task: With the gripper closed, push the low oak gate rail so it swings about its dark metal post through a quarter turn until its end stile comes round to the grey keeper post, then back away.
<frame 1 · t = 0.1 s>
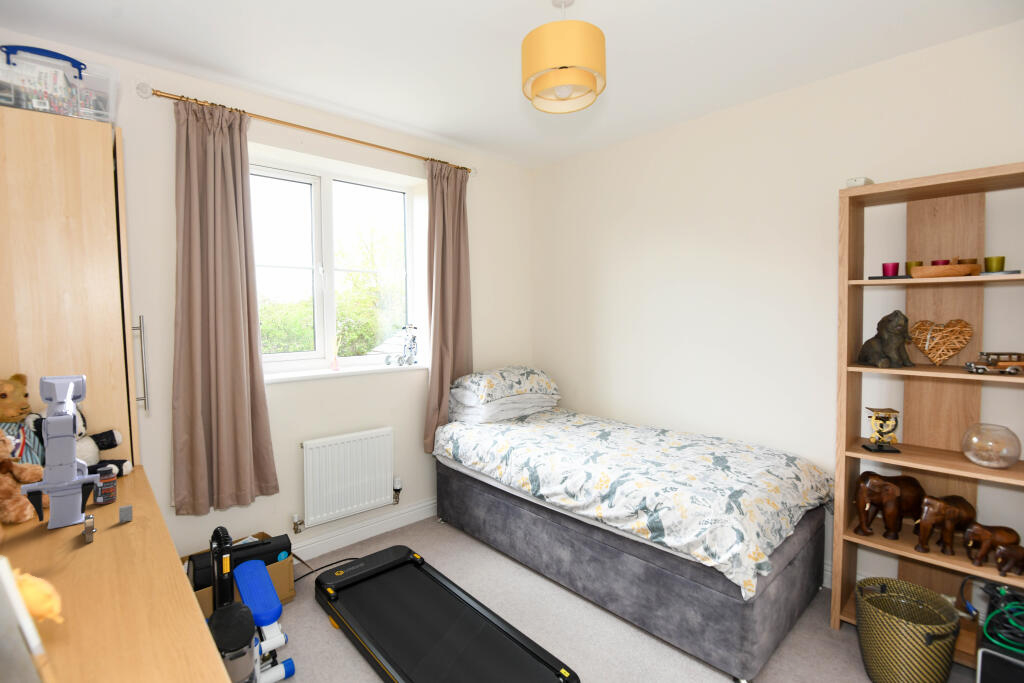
hand: (62, 516, 123), 10 cm above the table, tool pointing down, fingers open, 7 cm apart
supplement bottle: (105, 503, 160), on the table
keeper post: (125, 521, 145), on the table
pivot post: (89, 531, 137), on the table
gate: (89, 529, 133), point 2 cm above the table, hinge at 0.0°
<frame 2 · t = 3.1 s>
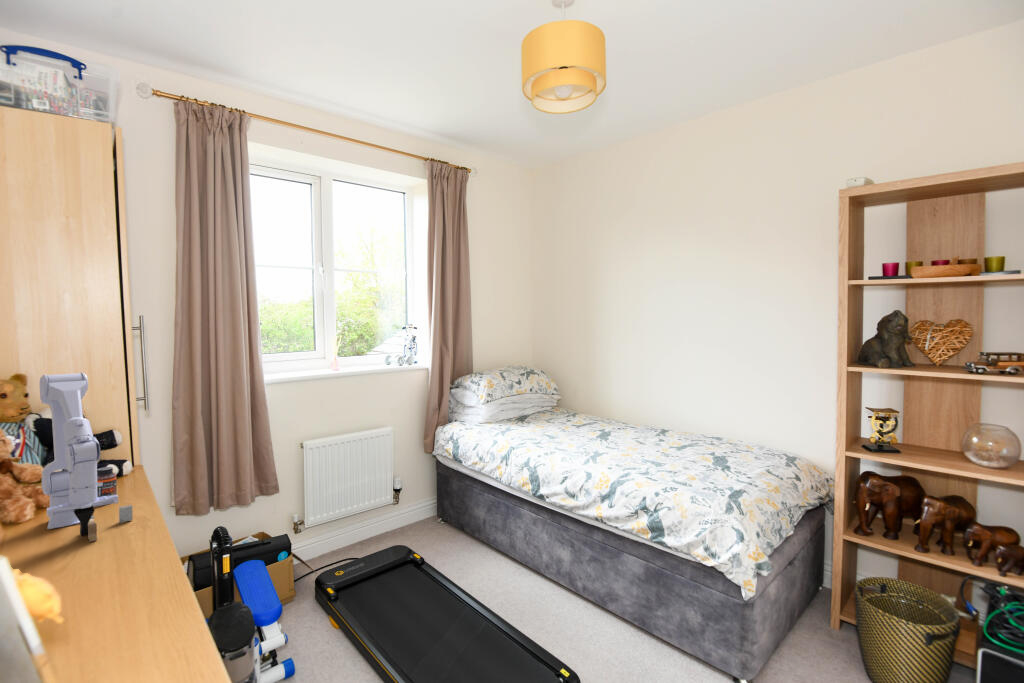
hand: (84, 535, 133), 1 cm above the table, tool pointing down, fingers closed, pressing on gate
gate: (91, 529, 133), point 2 cm above the table, hinge at 4.6°, touching gripper
everything else where it was.
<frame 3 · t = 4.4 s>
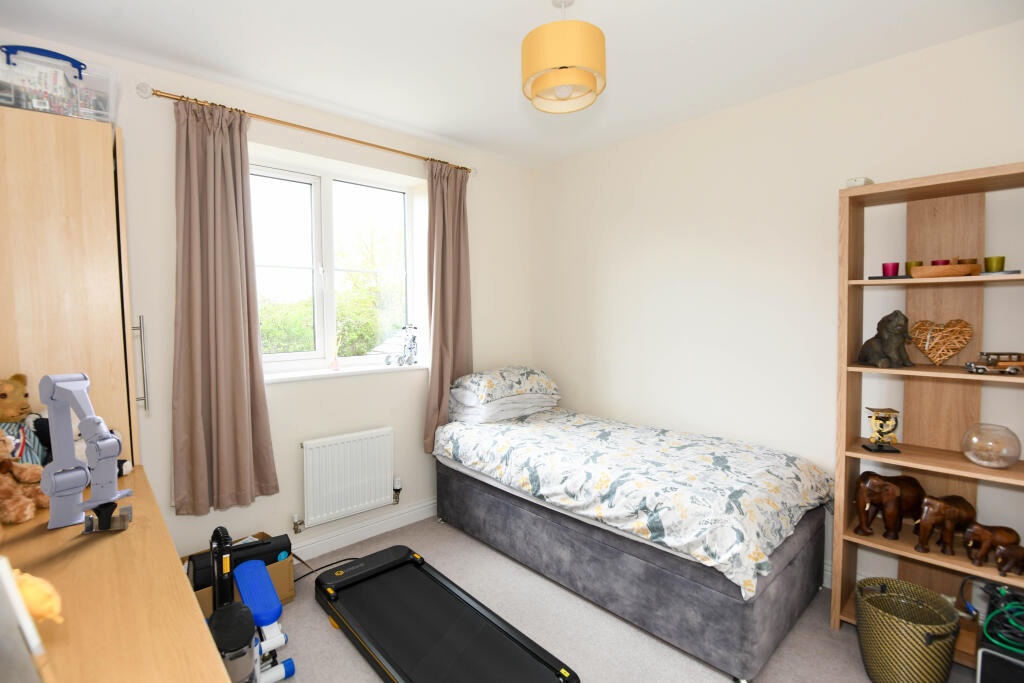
hand: (104, 529, 136), 1 cm above the table, tool pointing down, fingers closed, pressing on gate
gate: (111, 521, 138), point 2 cm above the table, hinge at 61.8°, touching gripper
everything else where it was.
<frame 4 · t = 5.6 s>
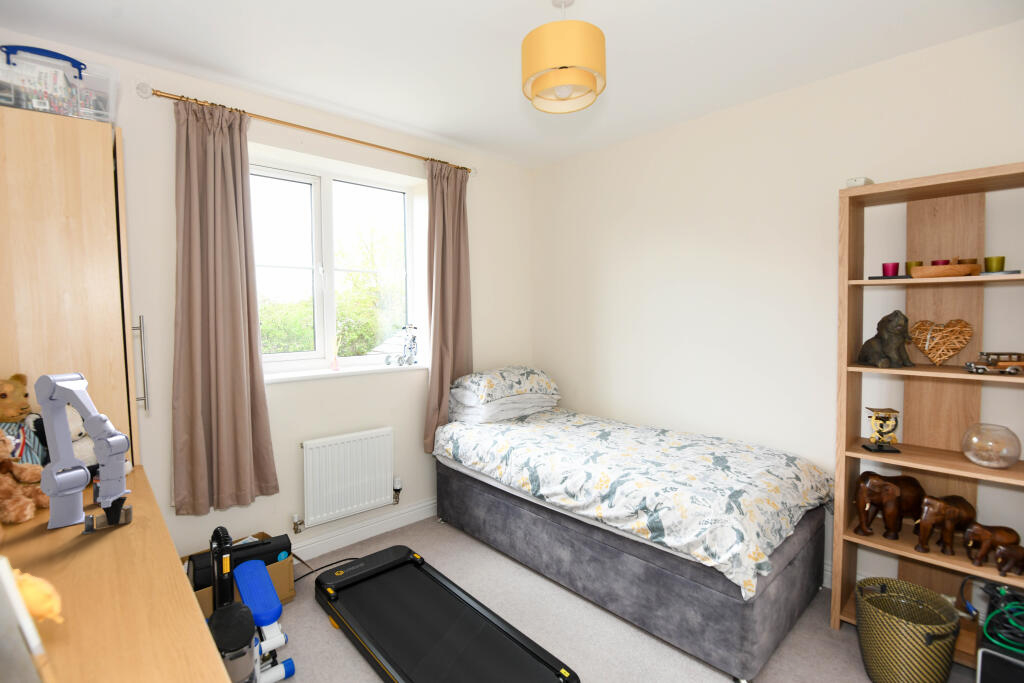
hand: (114, 524, 140), 1 cm above the table, tool pointing down, fingers closed
gate: (113, 518, 141), point 2 cm above the table, hinge at 96.9°, touching gripper, keeper post
everything else where it was.
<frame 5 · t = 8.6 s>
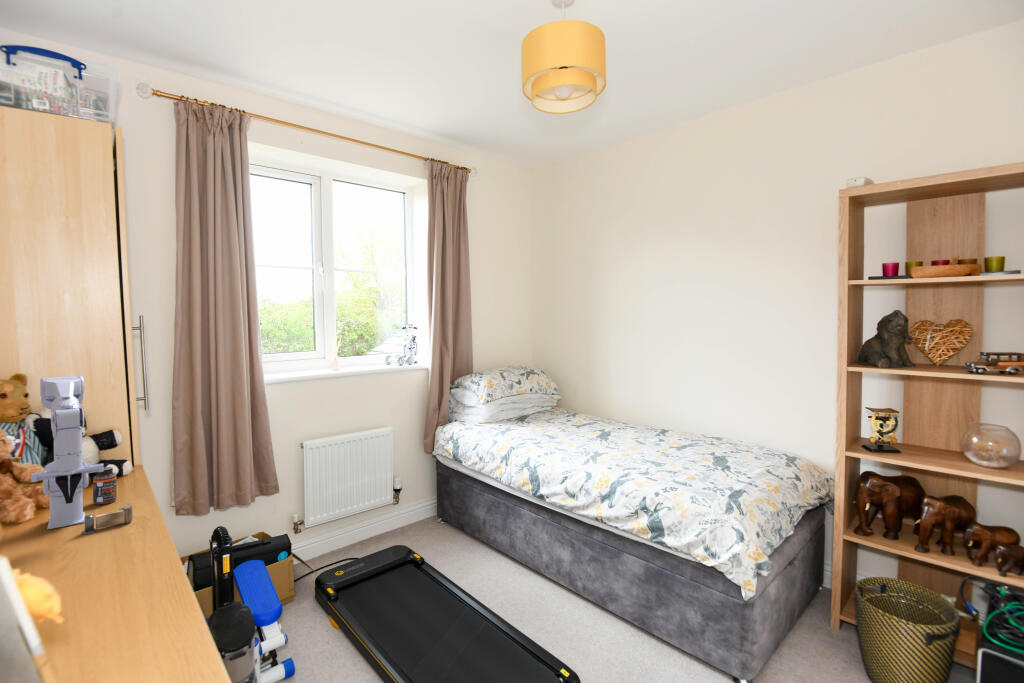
hand: (69, 502, 133), 10 cm above the table, tool pointing down, fingers closed
gate: (113, 518, 141), point 2 cm above the table, hinge at 96.9°, touching keeper post
everything else where it was.
at the end: gate at +97° (first picture: +0°); supplement bottle moved 0.2 cm from its start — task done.
